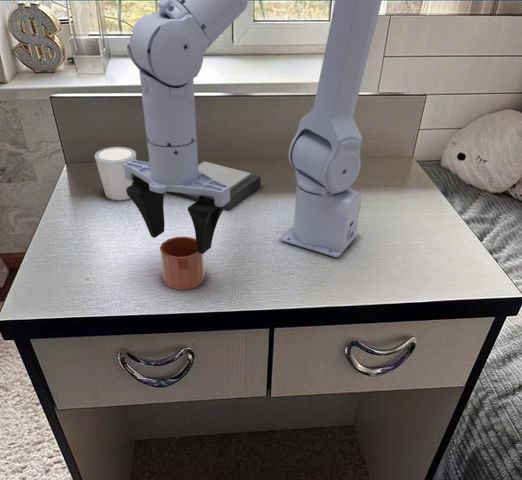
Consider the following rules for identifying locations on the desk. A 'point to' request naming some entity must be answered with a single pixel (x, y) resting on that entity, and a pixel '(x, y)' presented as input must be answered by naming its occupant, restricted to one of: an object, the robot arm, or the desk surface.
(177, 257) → the cup
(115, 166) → the shot glass
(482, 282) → the desk surface
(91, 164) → the desk surface
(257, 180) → the scale
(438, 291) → the desk surface
